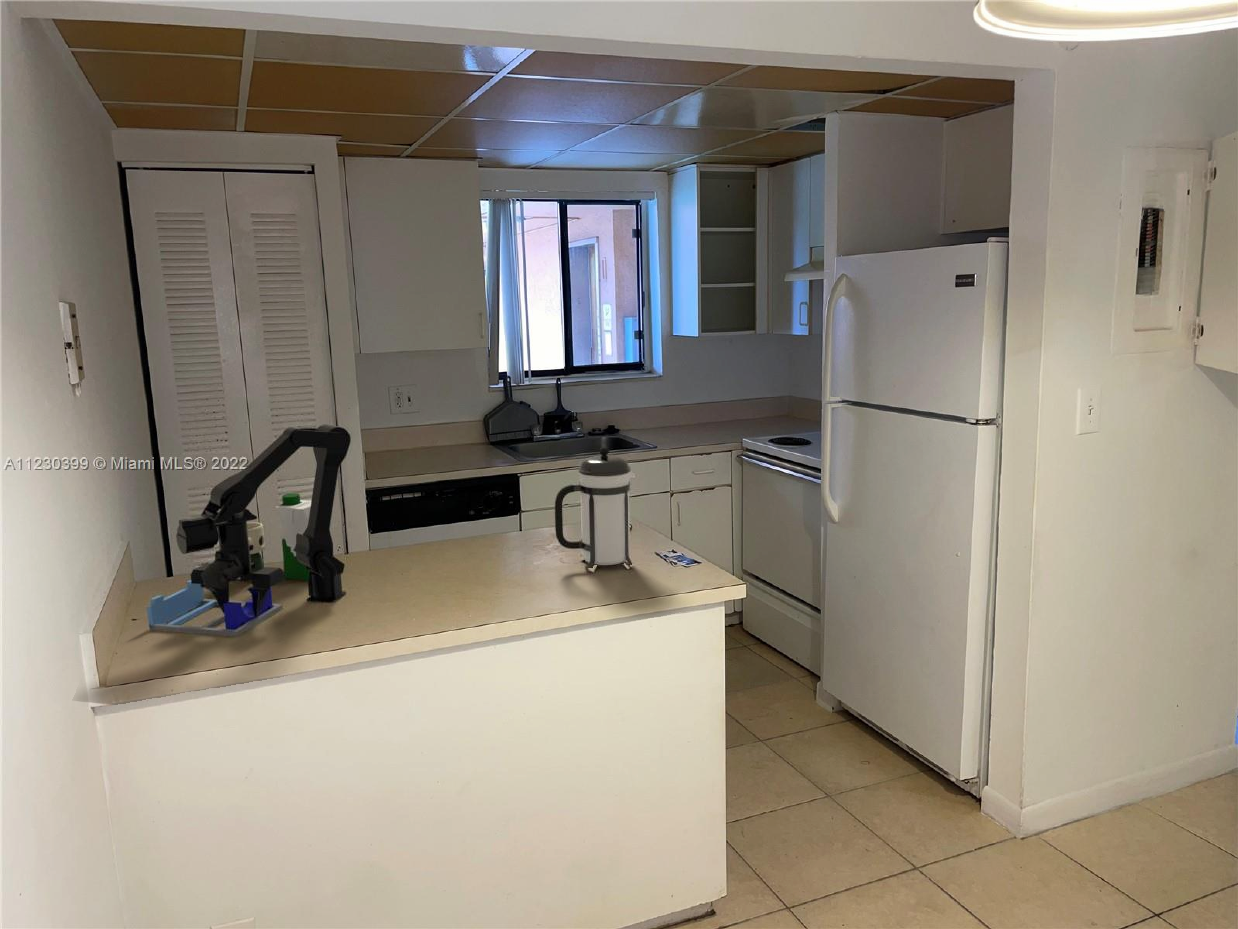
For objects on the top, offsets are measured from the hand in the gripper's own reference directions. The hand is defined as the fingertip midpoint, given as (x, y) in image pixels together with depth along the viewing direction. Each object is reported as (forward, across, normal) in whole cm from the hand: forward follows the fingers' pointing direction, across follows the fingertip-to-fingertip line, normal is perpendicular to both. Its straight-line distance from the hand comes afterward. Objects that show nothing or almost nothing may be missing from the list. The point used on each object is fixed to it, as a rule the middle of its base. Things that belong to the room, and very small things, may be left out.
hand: (241, 614), depth 187 cm
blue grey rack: (+1, -6, 0) cm, 6 cm away
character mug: (+2, -16, +26) cm, 30 cm away
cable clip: (+2, +1, 0) cm, 2 cm away
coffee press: (+2, +66, +50) cm, 83 cm away
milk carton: (+2, -4, +30) cm, 30 cm away
